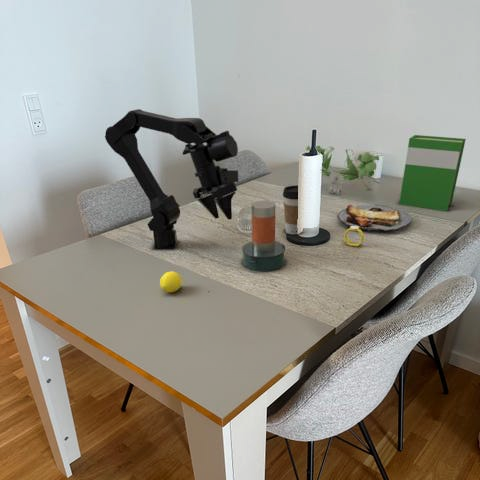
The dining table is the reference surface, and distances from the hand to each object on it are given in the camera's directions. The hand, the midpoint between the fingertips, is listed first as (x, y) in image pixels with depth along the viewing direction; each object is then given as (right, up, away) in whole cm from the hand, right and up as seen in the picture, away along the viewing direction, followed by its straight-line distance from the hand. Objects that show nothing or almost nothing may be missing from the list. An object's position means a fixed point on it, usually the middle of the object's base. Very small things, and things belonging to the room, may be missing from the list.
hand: (223, 218), depth 137 cm
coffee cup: (+23, 0, +22) cm, 32 cm away
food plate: (+52, +5, +27) cm, 59 cm away
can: (+12, -9, -1) cm, 15 cm away
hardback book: (+76, +14, +42) cm, 88 cm away
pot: (+12, -13, +1) cm, 17 cm away
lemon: (-13, -22, -13) cm, 29 cm away
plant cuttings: (+48, +25, +60) cm, 80 cm away
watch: (+41, -6, +10) cm, 42 cm away
